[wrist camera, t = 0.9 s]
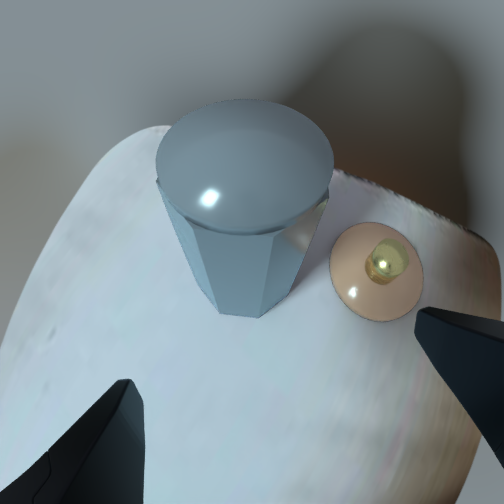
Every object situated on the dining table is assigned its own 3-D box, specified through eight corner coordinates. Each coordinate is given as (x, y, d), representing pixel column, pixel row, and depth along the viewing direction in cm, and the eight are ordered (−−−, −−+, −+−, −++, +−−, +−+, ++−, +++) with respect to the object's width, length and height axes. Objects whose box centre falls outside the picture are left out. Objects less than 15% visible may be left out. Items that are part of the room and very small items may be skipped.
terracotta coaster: (435, 276, 23) (438, 274, 23) (380, 344, 20) (383, 343, 20) (372, 209, 26) (373, 206, 26) (307, 263, 23) (308, 260, 23)
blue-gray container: (308, 279, 23) (367, 164, 11) (236, 336, 21) (224, 264, 9) (251, 218, 25) (256, 84, 13) (182, 265, 23) (129, 144, 11)
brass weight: (401, 270, 23) (415, 258, 20) (382, 292, 22) (395, 281, 20) (378, 246, 24) (390, 231, 21) (358, 265, 23) (369, 252, 21)
